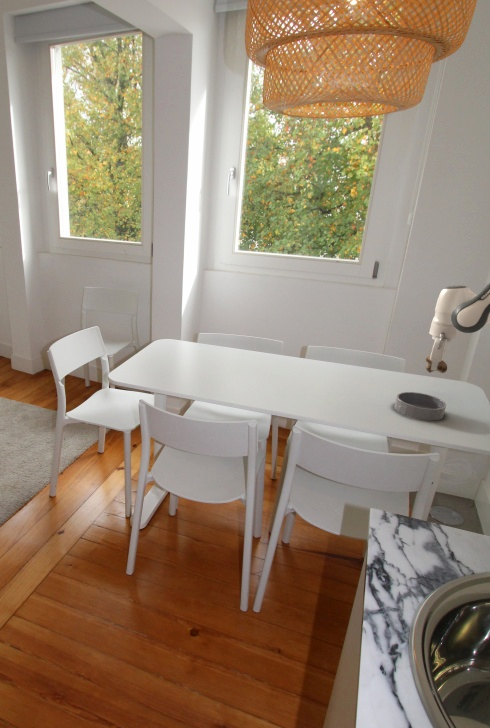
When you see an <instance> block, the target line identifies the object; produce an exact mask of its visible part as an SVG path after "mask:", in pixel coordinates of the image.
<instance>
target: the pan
mask: <svg viewBox="0 0 490 728" xmlns="http://www.w3.org/2000/svg"><path fill="white" fill-rule="evenodd" d="M446 408H447V403H446V401H444V400H443V399H441V398H439V397H437V396H434V395H431V394H427V393H423V392H415V391H404V392H400V393H398V394H397V395H396V398H395V402H394V410H396V412H398V413H400V414H402V415H403V416H407V417H410V418H413V419H417V420H421V421H422V420H423V421H439V420H442V419H443V418H444V415H445V412H446Z"/></svg>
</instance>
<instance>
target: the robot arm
mask: <svg viewBox="0 0 490 728" xmlns="http://www.w3.org/2000/svg"><path fill="white" fill-rule="evenodd" d="M487 325H490V282H488V284H486V285H485V286H484V287H483V288H482V289H481V290H480V292H478V293H475V292H473V291H472V290H471V289H470V288H469V287H468V286H467V285H449V286H447V287H444V288H443V289H441V291H440V292H439V295H438V298H437V301H436V304H435V308H434V316H433V317H432V321H431V324H430V328H429V332H428V333H429V335H431V336H432V337H431V339H432V340H433V341H434V342H433V346H432V348H431V352H430V353H431V354H430V360H432V366H431V370H433V372H437V371H436V370H437V366H438V363H439V362H441V361H442V360H443V358H444V355H445V352H446V349H447V347H448V345H449V343H451V342H453V339H456V338H458V335H459V332H461V333H464V334H472V333H476V332H478V331H480V330H481V329H483V328H484V327H485V326H487Z"/></svg>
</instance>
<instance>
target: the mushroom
mask: <svg viewBox="0 0 490 728" xmlns="http://www.w3.org/2000/svg"><path fill="white" fill-rule="evenodd" d="M430 356H431V355H430ZM430 356H426V358H425V362H426V364H427V365H426V366H425V369H426V371H427V373H433V372H434V371H433V370H431V366H432V360H430ZM447 371H448V364H447V362H446V361H444V360H443V359H442V361H441V362H439V363H438V366H437V370H436V371H435V372H438V373H440V374H445V373H446V372H447Z"/></svg>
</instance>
